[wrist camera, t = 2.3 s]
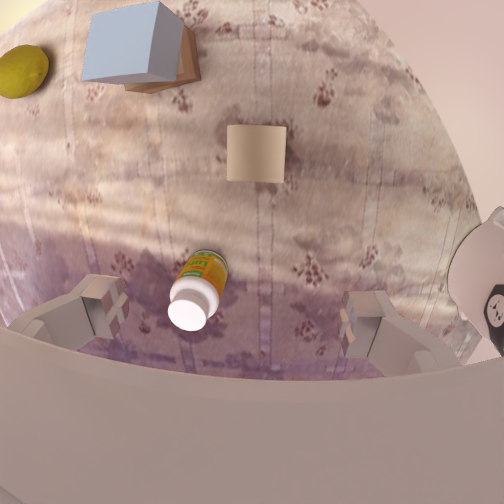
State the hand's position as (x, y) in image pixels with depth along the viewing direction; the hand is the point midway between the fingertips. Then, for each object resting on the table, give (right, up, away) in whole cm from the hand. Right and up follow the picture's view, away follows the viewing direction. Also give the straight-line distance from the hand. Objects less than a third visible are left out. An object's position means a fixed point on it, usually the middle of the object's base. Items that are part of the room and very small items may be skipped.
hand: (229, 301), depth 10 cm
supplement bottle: (-5, 0, +26) cm, 27 cm away
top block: (-8, +20, +10) cm, 24 cm away
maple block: (+2, +13, +19) cm, 23 cm away
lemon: (-30, +28, +15) cm, 43 cm away
